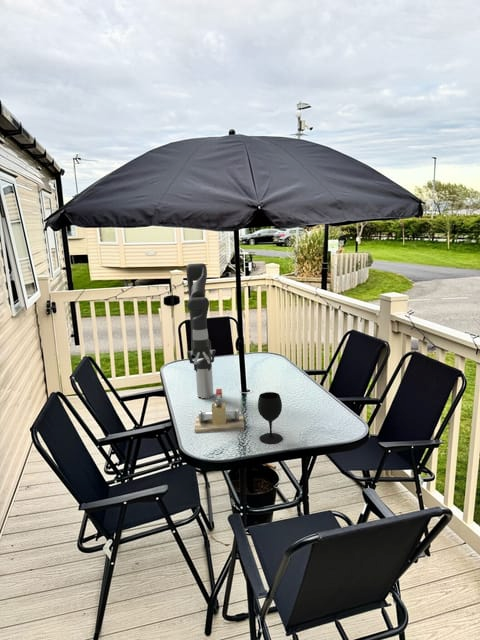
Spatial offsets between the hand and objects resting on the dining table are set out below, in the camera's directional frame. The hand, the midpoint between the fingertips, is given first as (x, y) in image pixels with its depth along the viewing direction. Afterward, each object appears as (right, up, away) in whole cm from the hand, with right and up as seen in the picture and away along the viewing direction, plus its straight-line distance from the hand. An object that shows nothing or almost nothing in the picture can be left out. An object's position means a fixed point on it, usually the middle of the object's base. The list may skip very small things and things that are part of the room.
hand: (202, 370), depth 213 cm
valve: (+9, -23, -8) cm, 26 cm away
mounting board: (+9, -25, -8) cm, 28 cm away
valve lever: (+8, -14, -3) cm, 16 cm away
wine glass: (+32, -27, -25) cm, 49 cm away
